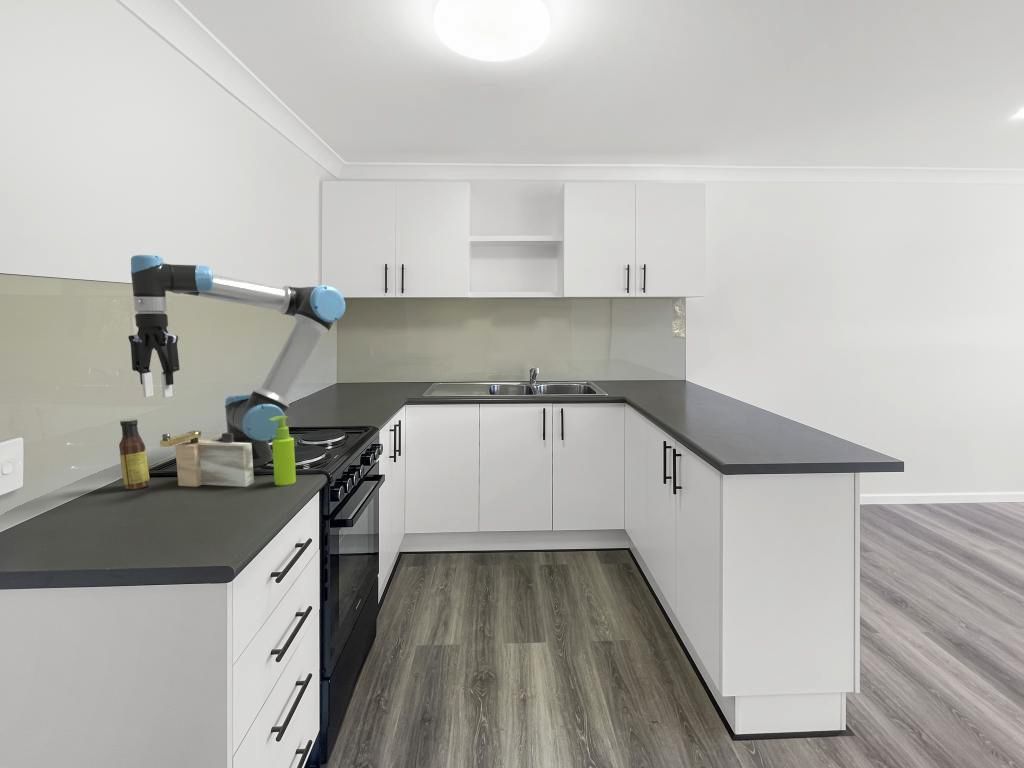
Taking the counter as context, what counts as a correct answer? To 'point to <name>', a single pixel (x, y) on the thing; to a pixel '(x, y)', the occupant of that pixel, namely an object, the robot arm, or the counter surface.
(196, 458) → the door frame
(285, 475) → the soap dispenser
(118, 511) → the counter surface
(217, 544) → the counter surface
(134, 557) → the counter surface
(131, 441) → the sauce bottle
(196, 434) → the swing bar
